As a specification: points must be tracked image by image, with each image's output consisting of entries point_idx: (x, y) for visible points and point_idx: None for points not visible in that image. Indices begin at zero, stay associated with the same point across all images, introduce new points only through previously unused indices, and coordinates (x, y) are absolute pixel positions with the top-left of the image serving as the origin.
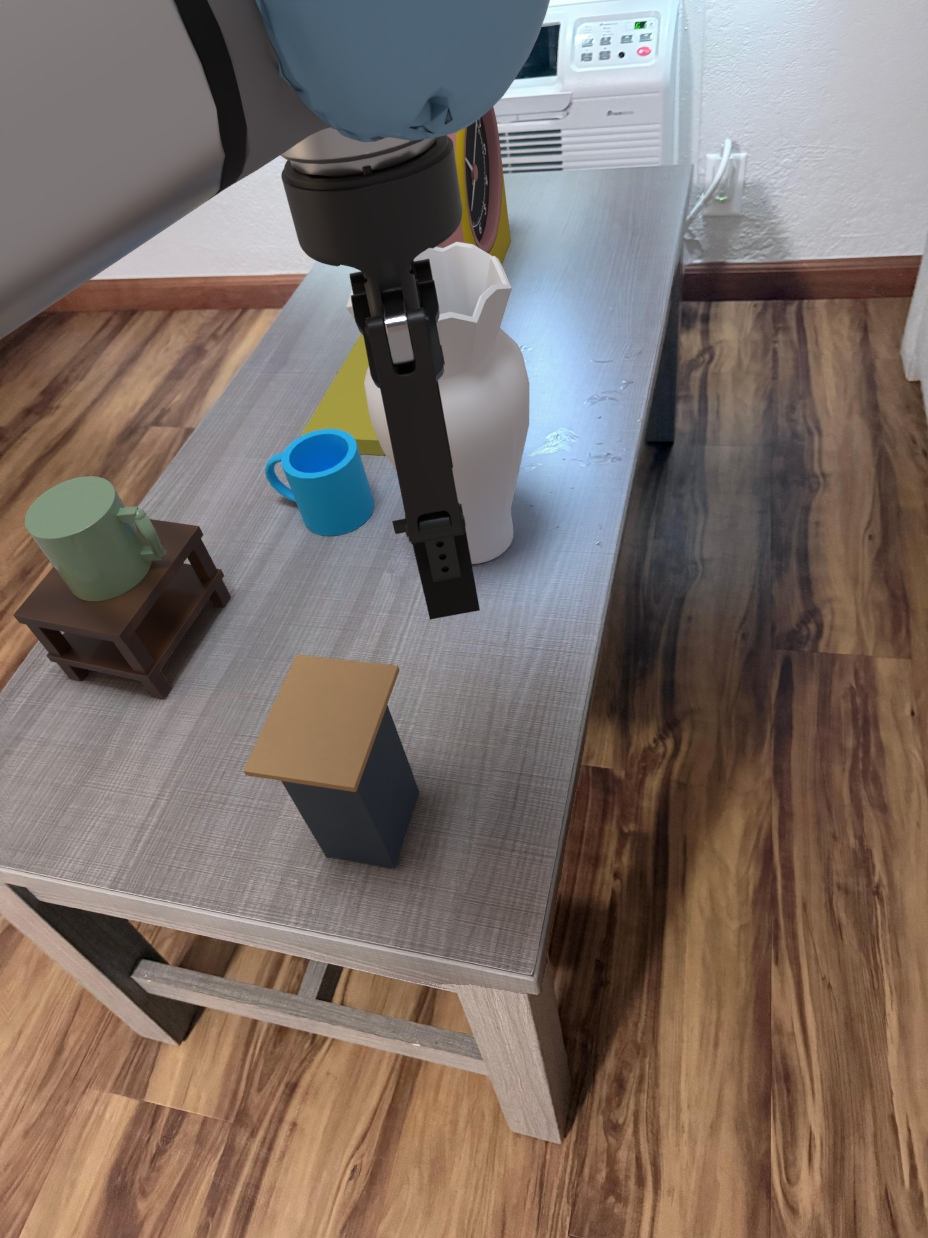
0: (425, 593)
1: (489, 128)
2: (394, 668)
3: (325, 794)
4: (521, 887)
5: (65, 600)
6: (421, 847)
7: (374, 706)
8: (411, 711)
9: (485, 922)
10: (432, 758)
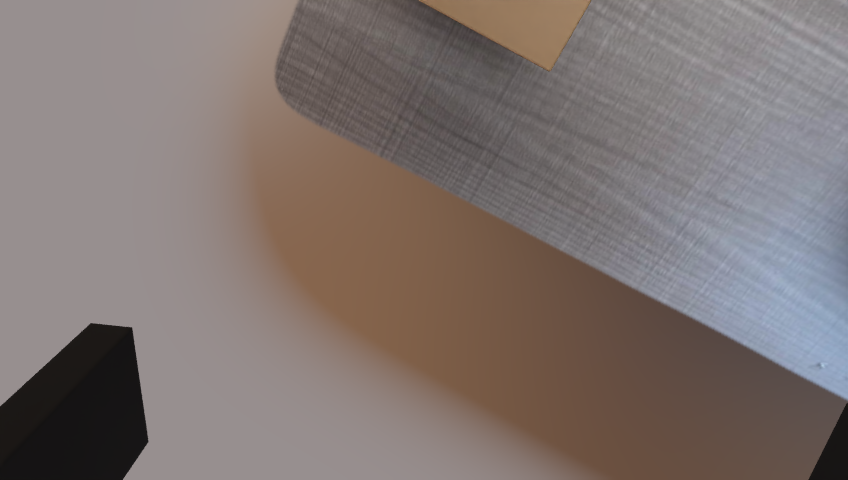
0: (21, 393)
1: None
2: (545, 63)
3: None
4: (353, 113)
5: None
6: None
7: (466, 6)
8: (659, 31)
9: (322, 62)
10: None
